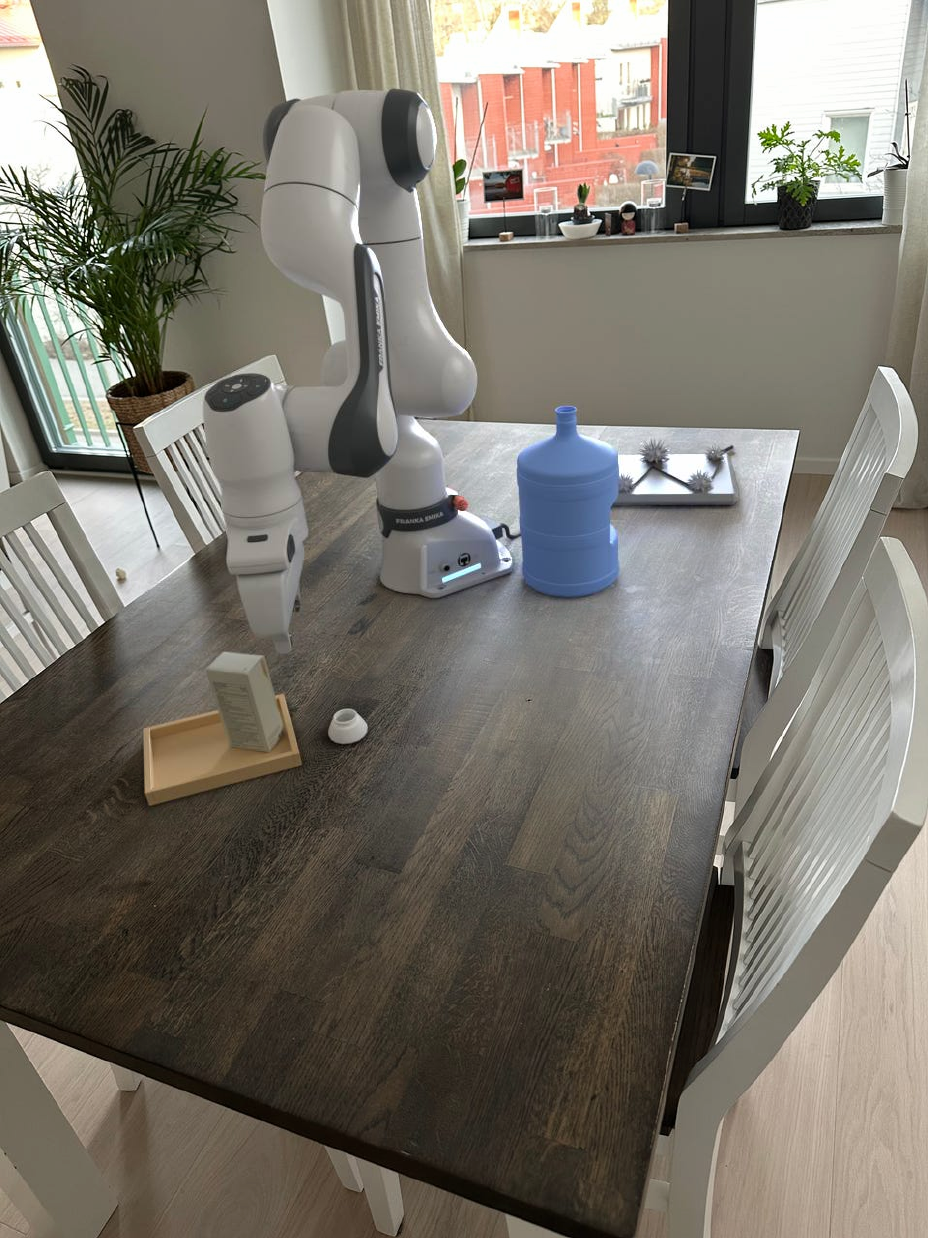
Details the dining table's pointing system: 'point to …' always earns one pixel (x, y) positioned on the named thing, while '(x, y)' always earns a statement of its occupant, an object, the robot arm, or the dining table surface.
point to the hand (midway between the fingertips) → (289, 629)
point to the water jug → (568, 511)
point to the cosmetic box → (245, 701)
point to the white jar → (347, 727)
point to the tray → (208, 756)
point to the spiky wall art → (676, 478)
